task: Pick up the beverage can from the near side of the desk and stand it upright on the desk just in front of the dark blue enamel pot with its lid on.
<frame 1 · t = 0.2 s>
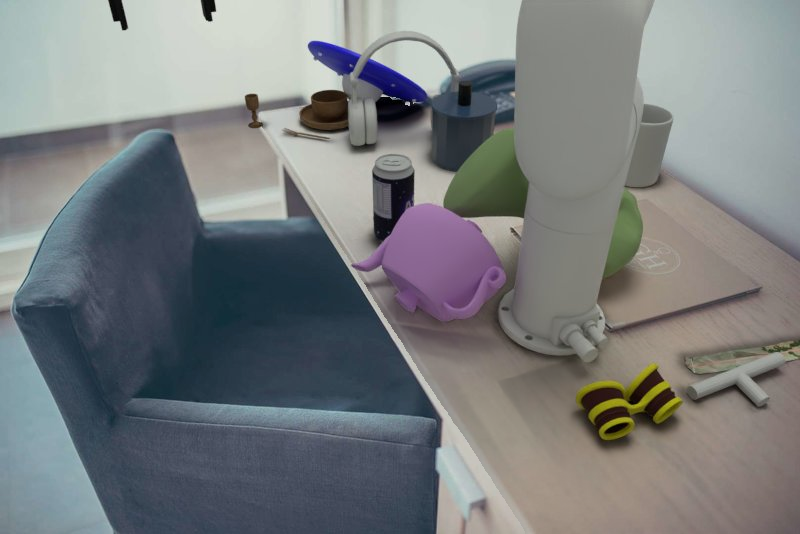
hand: (167, 22, 77), 29 cm above the table, tool pointing down, fingers open, 9 cm apart
opera glasses: (625, 417, 66), on the table
headphones: (404, 142, 118), on the table
beverage can: (393, 238, 93), on the table
pot: (460, 158, 113), on the table
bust: (474, 147, 77), point 17 cm above the table, touching teapot
mug: (621, 177, 107), on the table
bookmark: (771, 356, 73), on the table
pipe joint: (730, 368, 70), point 1 cm above the table
place setting: (311, 118, 126), on the table, touching toy spaceship
teapot: (461, 228, 78), point 9 cm above the table, touching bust
toy spaceship: (369, 68, 125), point 8 cm above the table, touching place setting
pot lid: (464, 106, 107), point 9 cm above the table, touching pot
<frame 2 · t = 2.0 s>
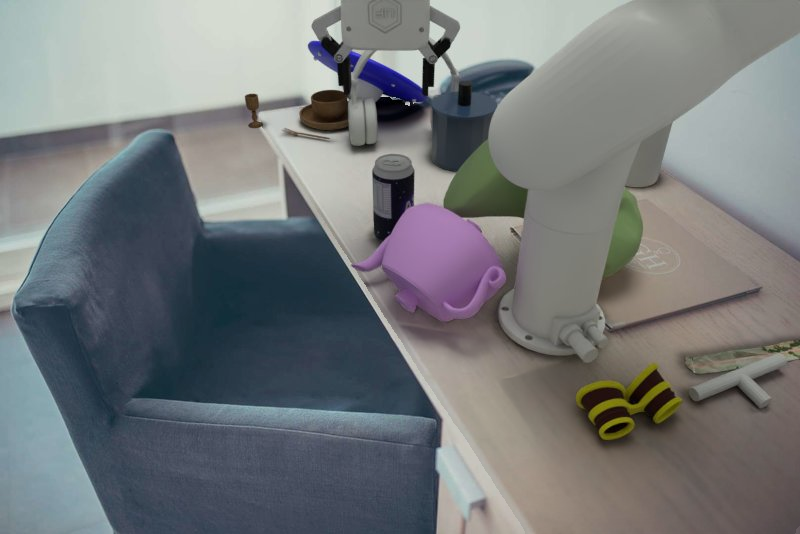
hand: (386, 91, 80), 22 cm above the table, tool pointing down, fingers open, 9 cm apart
nothing on the table moved.
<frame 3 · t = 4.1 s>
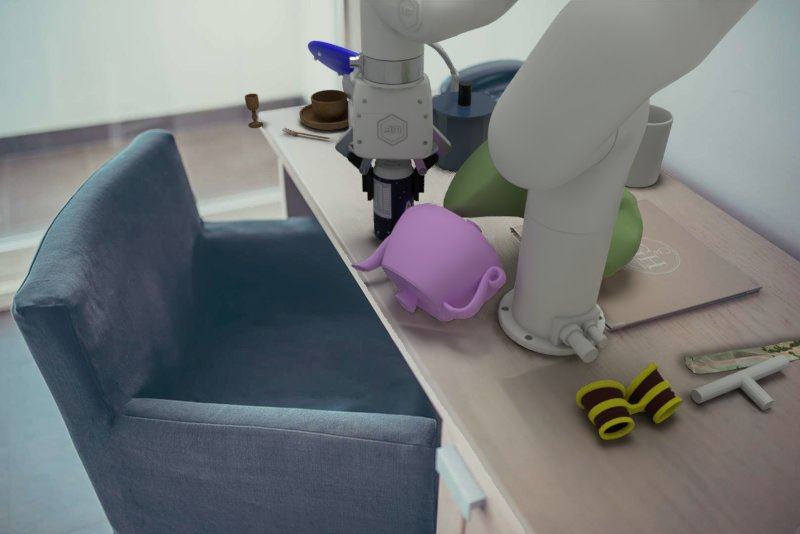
hand: (393, 195, 88), 7 cm above the table, tool pointing down, fingers closed on beverage can, 5 cm apart
beverage can: (393, 238, 93), on the table, touching gripper
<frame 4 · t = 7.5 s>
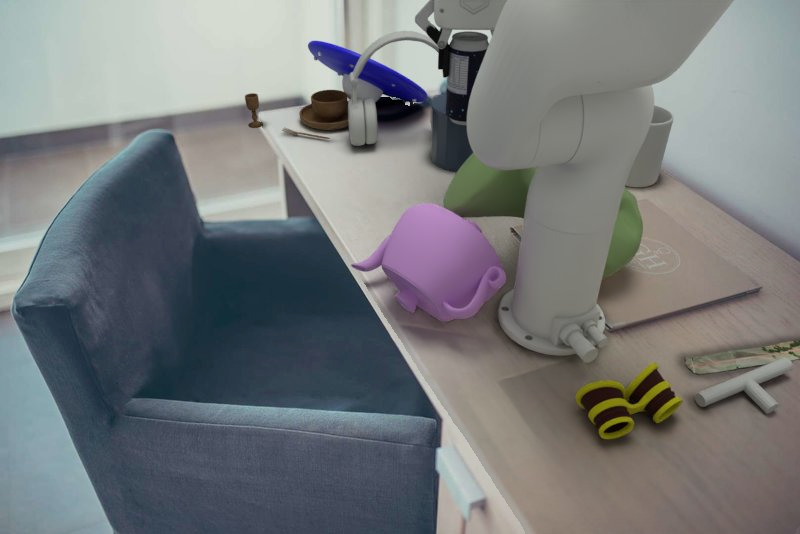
hand: (467, 73, 91), 20 cm above the table, tool pointing down, fingers closed on beverage can, 5 cm apart
beverage can: (464, 120, 95), point 13 cm above the table, touching gripper
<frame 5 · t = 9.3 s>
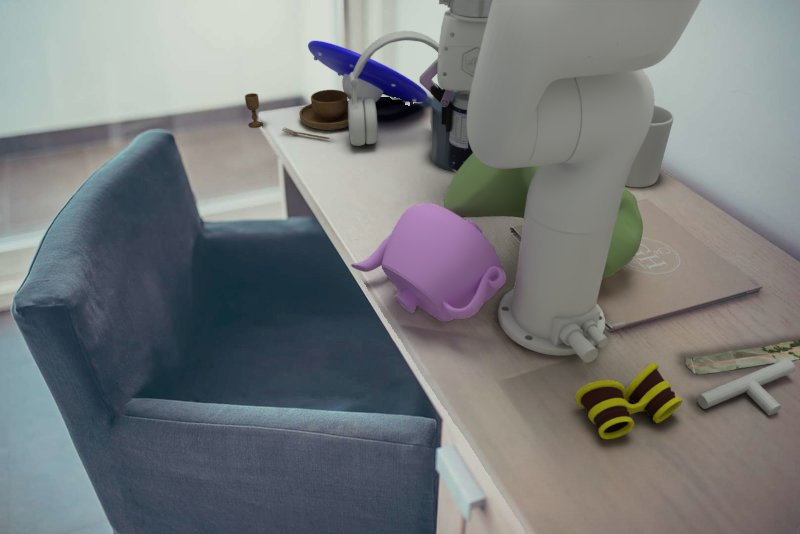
hand: (468, 127, 97), 11 cm above the table, tool pointing down, fingers closed on beverage can, 5 cm apart
beverage can: (465, 170, 101), point 4 cm above the table, touching gripper
when the fingers open (7 cm above the table, at t = 10.8 s): beverage can stays where it is, on the table.
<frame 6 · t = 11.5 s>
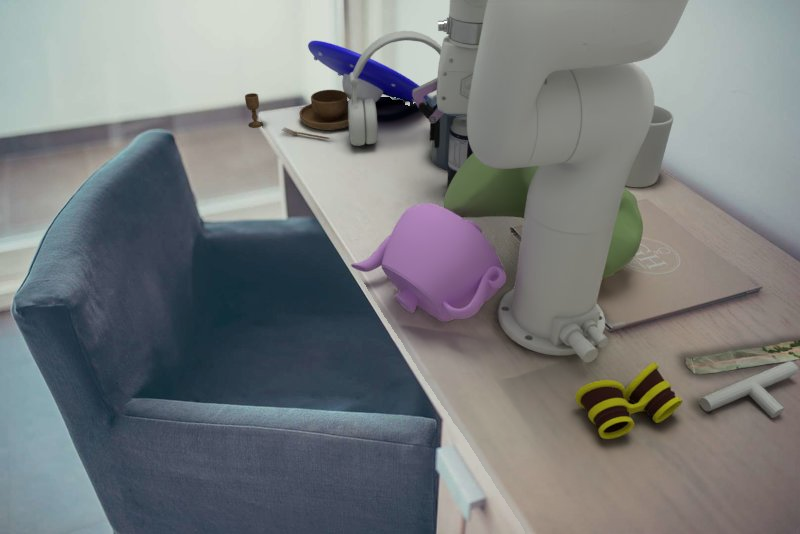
hand: (468, 144, 98), 8 cm above the table, tool pointing down, fingers open, 9 cm apart
beverage can: (464, 192, 103), on the table
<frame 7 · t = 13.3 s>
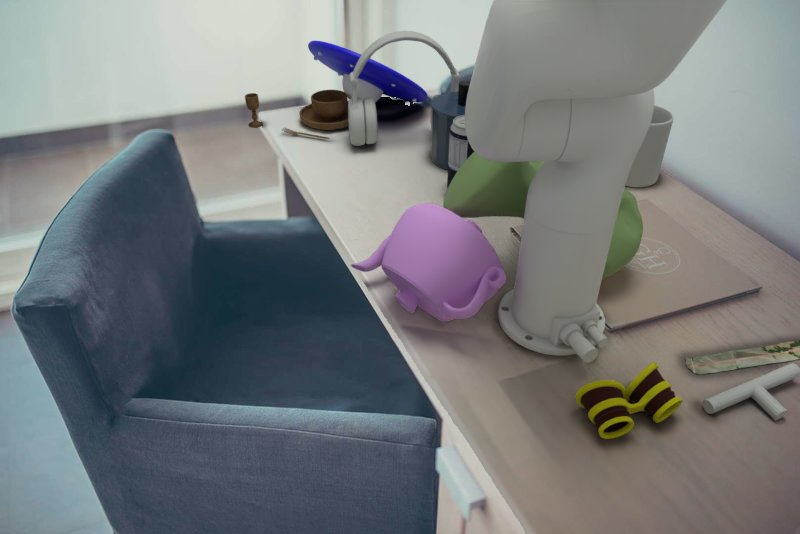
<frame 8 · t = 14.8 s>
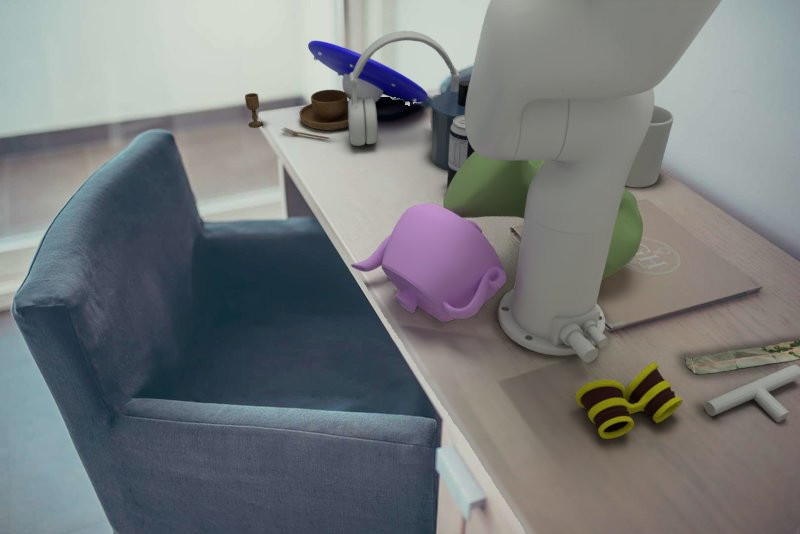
at the end: beverage can inside the target area on the table beside the pot (0.8 cm from its centre), on the table; beverage can 11.8 cm from the pot (horizontally); beverage can tilted 0° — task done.
